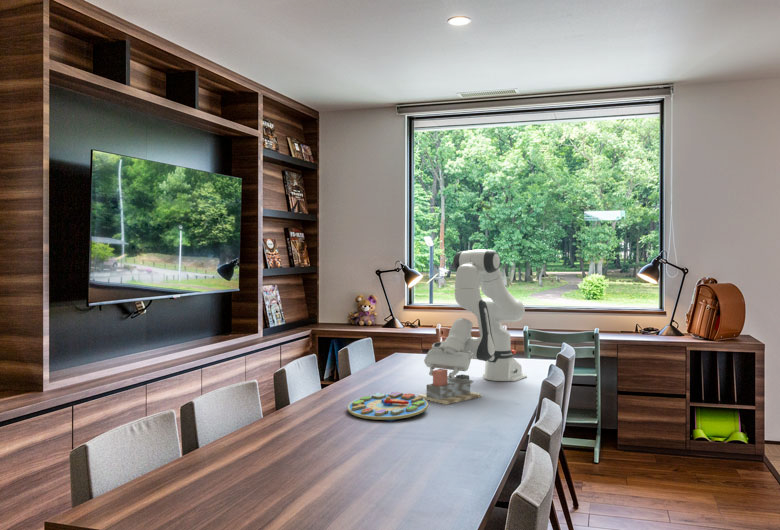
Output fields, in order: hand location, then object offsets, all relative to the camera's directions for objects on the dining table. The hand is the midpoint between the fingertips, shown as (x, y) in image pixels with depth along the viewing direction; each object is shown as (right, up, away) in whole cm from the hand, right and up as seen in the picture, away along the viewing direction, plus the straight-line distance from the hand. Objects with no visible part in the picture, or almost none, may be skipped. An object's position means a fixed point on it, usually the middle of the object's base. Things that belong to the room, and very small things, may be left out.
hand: (440, 376), depth 262 cm
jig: (+4, -10, +4) cm, 11 cm away
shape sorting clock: (-22, -10, -21) cm, 32 cm away
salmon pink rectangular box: (0, -6, 0) cm, 6 cm away
